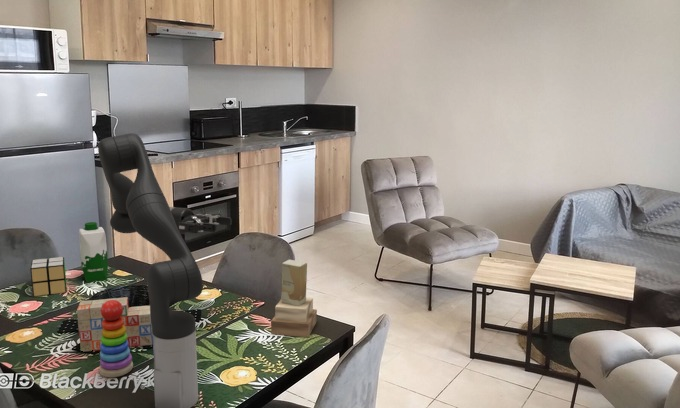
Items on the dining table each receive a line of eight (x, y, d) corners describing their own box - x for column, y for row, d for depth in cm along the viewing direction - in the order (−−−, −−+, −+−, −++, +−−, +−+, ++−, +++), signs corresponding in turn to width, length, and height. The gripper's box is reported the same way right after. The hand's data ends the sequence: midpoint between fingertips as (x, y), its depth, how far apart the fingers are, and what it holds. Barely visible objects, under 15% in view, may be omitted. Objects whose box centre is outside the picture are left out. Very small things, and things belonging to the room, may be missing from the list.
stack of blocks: (164, 334, 165) (162, 294, 162) (163, 344, 159) (161, 302, 156) (83, 342, 159) (80, 300, 156) (80, 352, 153) (76, 309, 151)
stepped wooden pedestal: (308, 337, 164) (308, 311, 162) (271, 333, 166) (270, 307, 164) (316, 321, 175) (316, 297, 173) (281, 318, 177) (281, 294, 175)
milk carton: (106, 272, 215) (103, 220, 211) (110, 280, 207) (106, 226, 203) (81, 276, 211) (76, 223, 206) (83, 284, 203) (79, 229, 199)
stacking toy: (94, 370, 144) (88, 299, 140) (125, 360, 149) (120, 291, 145) (107, 382, 138) (101, 309, 134) (138, 371, 144) (134, 300, 140)
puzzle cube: (34, 287, 199) (31, 259, 197) (66, 283, 203) (64, 256, 201) (33, 297, 190) (30, 268, 188) (66, 293, 194) (64, 264, 192)
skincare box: (280, 302, 168) (280, 262, 166) (288, 297, 172) (288, 258, 169) (300, 306, 165) (300, 266, 163) (307, 301, 169) (307, 262, 167)
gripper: (158, 212, 160) (210, 217, 156) (186, 202, 174) (235, 206, 169) (160, 238, 162) (211, 243, 157) (188, 227, 175) (236, 231, 171)
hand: (223, 224), depth 163 cm, fingers open, 8 cm apart
